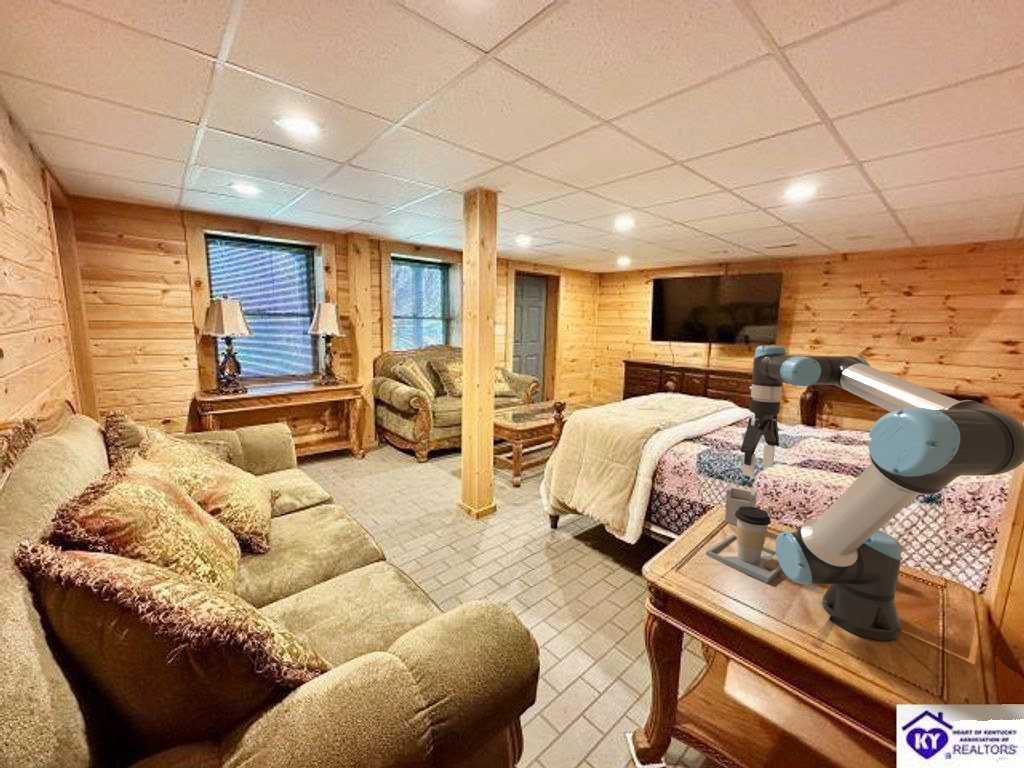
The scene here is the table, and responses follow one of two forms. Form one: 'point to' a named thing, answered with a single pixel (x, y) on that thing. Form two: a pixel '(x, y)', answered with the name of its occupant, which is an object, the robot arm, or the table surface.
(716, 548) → the grey tray
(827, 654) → the table surface
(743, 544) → the coffee cup
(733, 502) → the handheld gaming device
